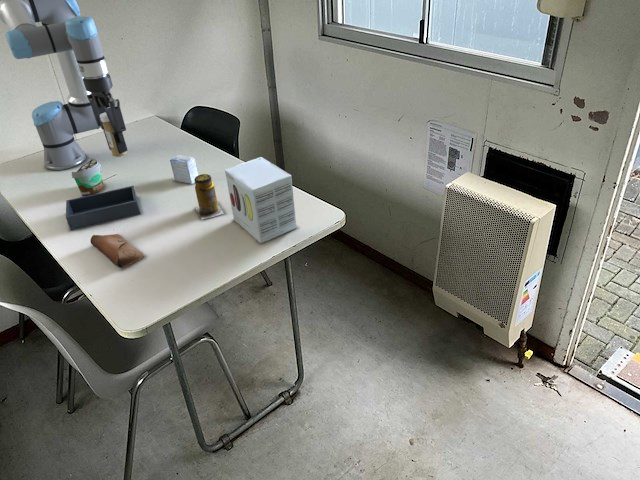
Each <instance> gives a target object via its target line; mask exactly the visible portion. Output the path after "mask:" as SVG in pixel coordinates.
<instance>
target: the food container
mask: <svg viewBox="0 0 640 480" xmlns="http://www.w3.org/2000/svg"><path fill="white" fill-rule="evenodd" d="M101 168H102V165H101V163H100V162H99V160H98V159H96V158H95V157H89V161H88V162H87V163H85V164H83V165H81V166H80V168H79V169H78V170H76V171H71V178H72V179H74V181H75V183H76V185H77V188H78V190H79V192H80V195H81V197H84V196H89V195H93V194H98V193H102V192H103V190H104V189H105V185H104V182H103V177H102V173H101Z"/></svg>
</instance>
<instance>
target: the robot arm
mask: <svg viewBox="0 0 640 480" xmlns="http://www.w3.org/2000/svg"><path fill="white" fill-rule="evenodd" d="M0 21H1V22H2V23H3V24H4V25H5V26H7V28H8V30H7V31H6V32H5V34H4V36H5V38H6V42H7V44H8V47H9V49H10V51H11V54H12V56H13V57H14V59H17V60H22V59H31V58H36V57H42V56H47V55H51V54H52V55H53V54H56V56H57V59H58V62H59V65H60V69H61V71H62V74H63V78H64V80H65V83H66V87H67V90H68V93H69V94H68V96H67V98H66V99H67V103H65V104H64V103H62V101H59V100H55V101H48V102H45V103H42V104H40V105H38V106H37V107H35V108H34V109H33V110H32V111H31V118H32V122H33V125H34V126H35V129H36V131H37V134H38V136H39V140H40V142H41V145H42V147H43V162H42V163H43V165H45V168H46V169H47V170H49V171H64V170H68V169H72V168H75V167H77V166H79V165H82V164H83V163H84V162H85V161H86V159H87V156H86V153H85V151H84V150H83V149H82V147H81V146H80V145H79V144H78V143H77V141H76V138H75V136H74V135H77V134H81V133H86V132H90V131H94V130H99V129H101V130H102V131H103V133H104V137H105V140H106V143H107V145H108V146H107V147H108V149H109V151H111V148H110V146H109V143H108V140H107V136H106V133H105V129H104V126H103V123H102V121H101V119H100V114H102V113H104V112H106V114H107V116H108V119H109V121H110V123H111V126H112V128H113V131H114V132H113V133H112V134H113V136H114V139H115V142H116V145H117V149H118V152H119V153H120V154H121V153H123V152H126V151H127V152H128V146H127V143H126V140H125V136H124V134H123V133H124V132H125V131H127V128H126V127H127V126H126V124H125V120H124V117H123V113H122V110H121V104H120V103H121V102H120V100H119V98H117V99H115V98H114V97H113V94H112V93H111V89H112V88H113V82H112V78H111V75H110V74H109V72H110V70H109V68H108V64H107V61H106V57H105V55H104V51H103V48H102V44H101V39H100V37H99V33H98V32H99V31H98V27H96V24H95V20H94V19H93V18H92V17H91V16H85V15H83V16H81V10H80V7H79V5H78V2H77V0H0ZM37 23H41V25H37Z"/></svg>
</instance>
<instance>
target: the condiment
mask: <svg viewBox="0 0 640 480" xmlns="http://www.w3.org/2000/svg"><path fill="white" fill-rule="evenodd" d="M194 191H195V195H196V200H197V204H198V206H197V207H195V210H196V212H197V214H198V215H199V217H200V218H201V220H207V219H210V218H211V219H212V218H214V217H217V216H221V215H224V214H225V212H224V211H223V209H222V208H221V206H220V205H219V203H218V198H217V193H216V188H215V184H214V183H213V180H212V176H211V175H210V174H208V173H202V174H198V176H196V177H195V182H194Z"/></svg>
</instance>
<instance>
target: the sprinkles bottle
mask: <svg viewBox="0 0 640 480" xmlns="http://www.w3.org/2000/svg"><path fill="white" fill-rule="evenodd" d="M100 119H101V121H102V123H103V126H104V129H105V133H106V136H107V140H108V143H109V146H110V148H111V150H110V151H111V155H112V156H113V157H114V158H121V157H123V156H125V155H127V154H128V151H126V152H123V153H121V154H120V153H119V152H118V149H117V145H116V142H115V139H114V136H113V134H112V133H113V132H114V131H113V128H112V126H111V123H110V121H109V119H108V116H107V114H106V112H104V113H102V114H100ZM107 140H106V141H107ZM108 143H107V144H108ZM109 146H108V147H109Z"/></svg>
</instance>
